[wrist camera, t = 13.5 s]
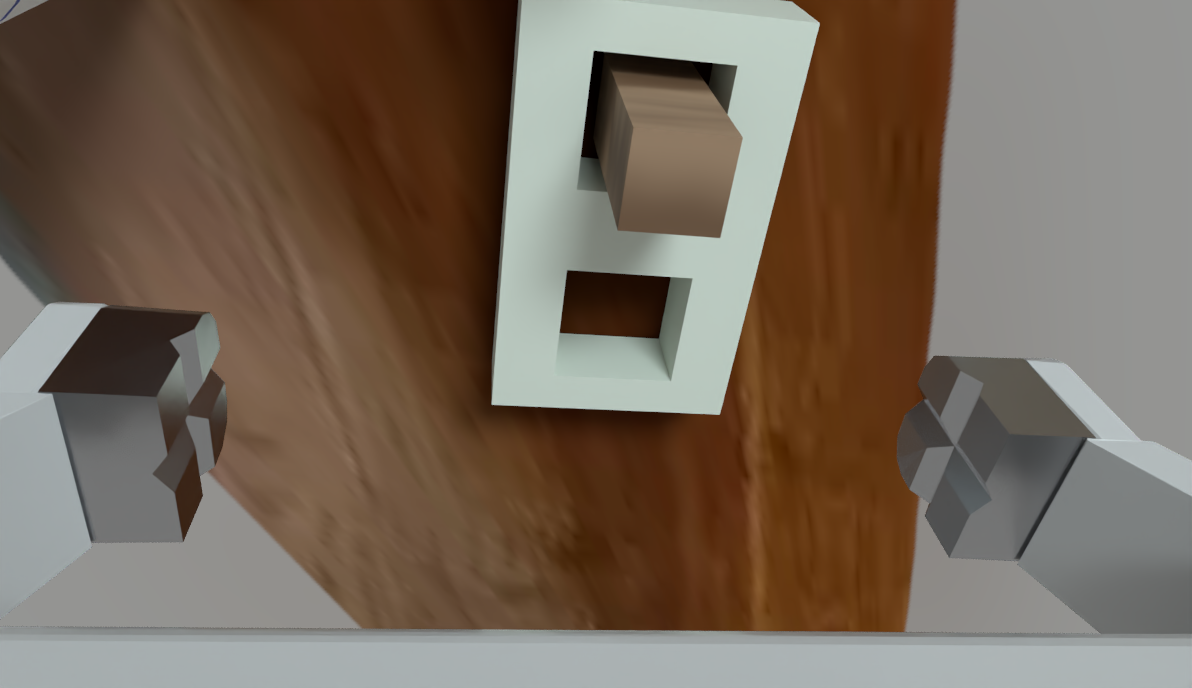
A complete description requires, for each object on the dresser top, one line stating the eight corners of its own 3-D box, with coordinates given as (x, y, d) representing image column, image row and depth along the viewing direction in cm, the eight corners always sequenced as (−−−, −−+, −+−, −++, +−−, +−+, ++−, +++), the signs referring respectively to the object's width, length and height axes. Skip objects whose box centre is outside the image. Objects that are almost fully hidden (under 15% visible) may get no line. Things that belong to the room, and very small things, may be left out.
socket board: (520, -31, 36) (522, -11, 33) (791, 1, 38) (819, 23, 35) (492, 360, 47) (491, 404, 44) (704, 371, 49) (719, 414, 45)
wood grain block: (604, 51, 39) (633, 127, 30) (690, 61, 39) (743, 137, 31) (593, 137, 41) (617, 230, 32) (675, 145, 41) (720, 238, 33)
